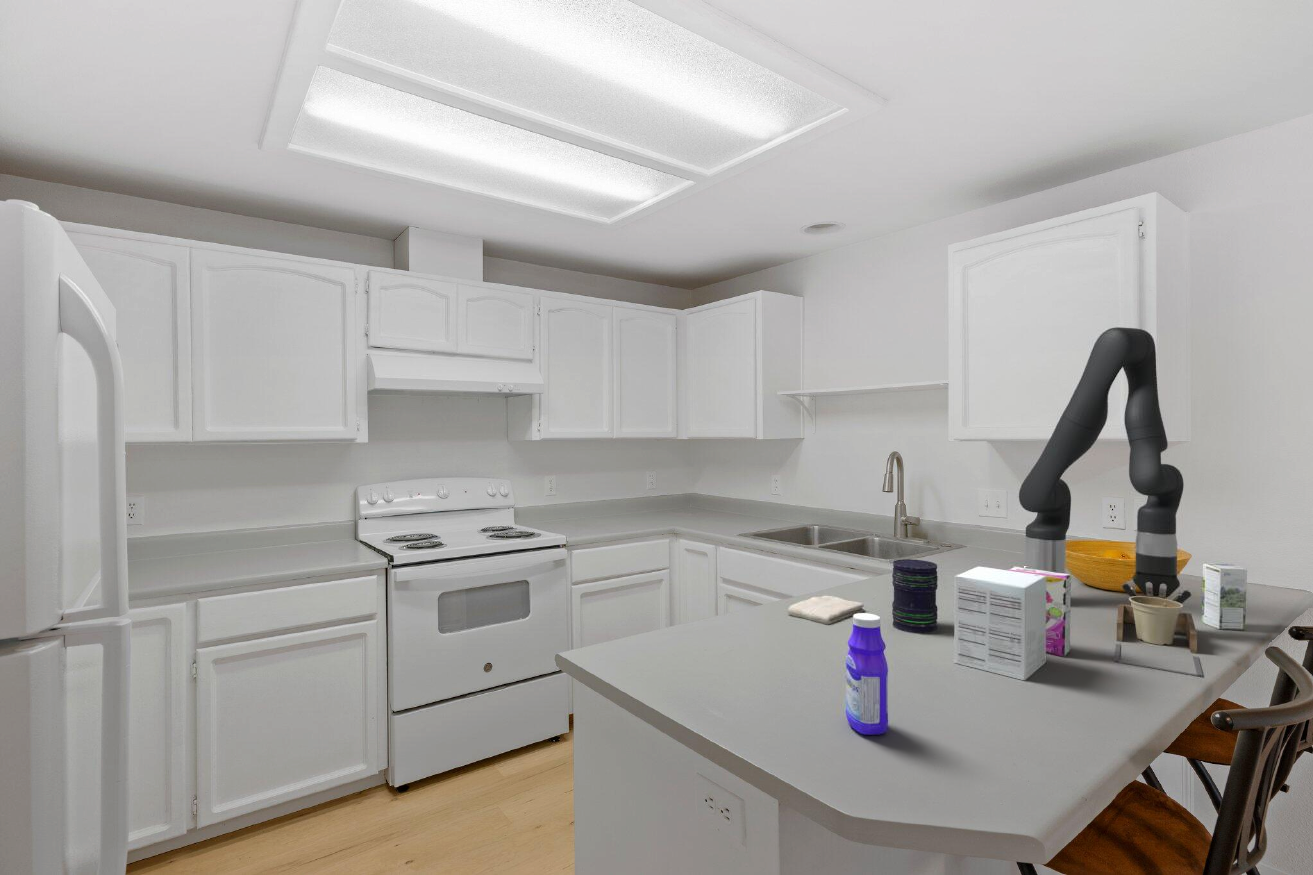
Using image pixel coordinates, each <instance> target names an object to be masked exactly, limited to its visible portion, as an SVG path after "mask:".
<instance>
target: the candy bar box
mask: <svg viewBox="0 0 1313 875" xmlns="http://www.w3.org/2000/svg"><path fill="white" fill-rule="evenodd" d="M1006 570H1007V571H1015V572H1022V573H1029V574H1036V575H1042V576H1046V654H1048V655H1054V656H1058V657H1059V656H1060V657H1064V658H1065V657H1066V655H1067V654H1068V653H1069V652H1071V651H1070V650H1071V649H1070V648H1071V606H1072V605H1071V603H1072V602H1071V598H1072V594H1071V593H1072V575H1071V574H1068V573H1066V574H1063V573H1056V572H1049V571H1042V570H1035V569H1028V568H1024V567H1021V566H1012V567H1010V568H1008V569H1006Z"/></svg>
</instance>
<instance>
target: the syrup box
mask: <svg viewBox="0 0 1313 875" xmlns="http://www.w3.org/2000/svg"><path fill="white" fill-rule="evenodd" d="M1247 580H1248V569H1246V568H1244V567H1242V566H1240V565H1237V564H1234V563H1233V564H1232V563H1214V562H1213V563H1211V562H1209V563H1208V562H1206V563H1205V562H1204V563H1202V585H1201V590H1202V591H1201V618H1200V620H1201V621H1200V622H1201V623H1203V624H1206V625H1208V626H1210V627H1212V628H1215V629H1218V630H1231V631H1235V630H1236V631H1245V630H1246V615H1247V613H1246V612H1247V589H1248V588H1247V585H1248V583H1247Z"/></svg>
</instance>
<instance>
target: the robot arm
mask: <svg viewBox="0 0 1313 875" xmlns="http://www.w3.org/2000/svg"><path fill="white" fill-rule="evenodd" d="M1091 349H1092V350H1091V352H1090V354H1089V358H1088V360H1087V362H1086V364H1085V366H1084V369H1083V372H1082V375H1081V377H1080V379H1079V382H1078V383H1077V385H1076V388H1075V390H1074V391H1073V394H1072V395H1071V398H1070V400H1069V402H1068V404H1067V405H1066V407H1065V409H1064V410H1063V412H1062V414H1061V416H1060V418H1059V420H1058V422H1057V423H1056V425H1055V429H1054V430H1053V432H1052V434H1051V436H1050V438H1049V440H1048V441H1047V442H1046V445H1045V447H1044V449H1043V451H1042V453H1041V455H1040V456H1039V458H1038V459H1037V461H1036V463H1035V464H1034V465H1033V468H1031V471H1030V472H1029V473H1028V475H1027V476H1026V477H1025V479H1024V480H1023V482H1022V483H1021V486H1020V488H1019V492H1018V500H1019V504H1020V505H1021V507H1022V508H1023V509H1024V510H1025V511H1027V512H1031V513H1037V514H1036V517H1035V518H1034V520H1033V521H1031V522H1030V523H1028V524H1027V525H1026V527H1025V548H1024V549H1025V552H1024V554H1025V555H1024V556H1025V563H1024V566H1023V568H1028V569H1035V570H1042V571H1049V572H1056V573H1063V574H1067V573H1066V568H1067V566H1066V565H1067V564H1066V563H1067V561H1066V558H1067V557H1066V556H1067V555H1066V554H1067V553H1066V552H1067V548H1066V547H1067V546H1066V545H1067V543H1066V542H1067V538H1066V537H1067V532H1068V530H1069V529H1070V523H1071V507H1072V494H1071V489H1070V488H1069V485H1068V484H1067V483H1066V482H1065V481H1064V480H1063V479H1062V476H1063V475H1064V473H1065V472H1066V471H1067V470H1068V469H1069V467H1070V468H1071V466H1072V465H1073V464H1074V463H1075V462H1076V461H1078V460H1079V459H1080V458H1081V457H1083V455H1085V454H1086V453H1087V452H1088V451H1089V450H1090V449H1091V448H1092V447H1093V446H1094V444H1095V442H1096V441H1097V440H1098V438H1099V436H1100V435H1101V432H1102V431H1103V429H1104V427H1105V425H1106V423H1107V420H1108V413H1109V411H1108V410H1109V403H1108V402H1109V393H1110V390H1111V387H1112V385H1113V383H1114V381H1115V380H1116V377H1117V376H1118V374H1119V373H1120V372H1121V370H1123V371H1124V374H1125V376H1126V380H1127V381H1126V382H1127V386H1128V394H1127V400H1126V404H1125V408H1124V415H1123V416H1124V418H1123V419H1124V420H1123V422H1124V428H1125V432H1126V436H1127V440H1128V444H1129V449H1130V450H1129V451H1130V452H1129V462H1128V463H1129V464H1128V475H1129V476H1128V477H1129V481H1130V484H1131V485H1132V487H1133V489H1134V490H1135V491H1136V492H1137V493H1139V494H1141V495H1143V496H1147V499H1146V503H1145V504H1144V505H1142V506H1140V507H1139V508H1138V509H1137V517H1136V519H1137V521H1136V522H1137V523H1136V526H1137V527H1136V537H1135V549H1134V550H1135V560H1134V561H1135V572H1134V574H1133V576H1132V579H1131V580H1129V581H1127V582H1123V583H1122V586H1121V587H1122V589H1123V590H1124V591H1125V593H1126V594H1127V595H1128V596H1129V598H1130V597H1134V596H1139V594H1138V593H1137V592H1136V591H1135V590H1136V586H1137V588H1138V589H1139V590H1140V592H1141V593H1142V594H1143V595H1144V596H1146V597H1156V598H1162V599H1166V598H1168V597H1170V596H1171V595H1172V594H1173V593H1174V592H1175V591H1176V590H1177V591H1176V595H1177V596H1176V597H1174V598H1173V599H1172V601H1175V602H1178V603H1181V604H1182V605H1183V603H1185V602H1186V601H1187V600H1188V599H1189V598H1191V596H1192V593H1191V590H1189V589H1186V588H1185V587H1183V585H1181V582H1180V580H1179V578H1178V552H1179V550H1178V540H1177V512H1178V510H1179V507H1180V504H1181V499H1182V496H1183V493H1184V492H1183V491H1184V486H1185V485H1184V478H1183V475H1182V472H1181V470H1180V469H1178V468H1177V467H1176V466H1174V465H1172V464H1169V463H1168V464H1167V463H1162V453H1163V452H1165V451H1166V450H1167V449H1168V447H1169V443H1168V438H1167V434H1166V430H1165V425H1164V422H1163V418H1162V413H1161V408H1160V402H1159V391H1158V390H1159V389H1158V376H1157V374H1158V373H1157V352H1156V350H1157V349H1156V342H1155V340H1154V337H1153V336H1152V335H1151V333H1149V332H1148V331H1147V330H1144V329H1142V328H1134V327H1112V328H1108V329H1106V330H1105V331H1103V332H1102V333H1101V334H1100V335H1099V336H1098V337H1097V339H1096V341H1095V343H1094V345H1093V347H1092V348H1091ZM1135 585H1136V586H1135Z"/></svg>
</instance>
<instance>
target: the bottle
mask: <svg viewBox="0 0 1313 875" xmlns="http://www.w3.org/2000/svg"><path fill="white" fill-rule="evenodd" d="M847 645H848V647H849V650H848V651H847V654H846V657H845V665H846V667H845V669H846V670H845V672H846V674H845V678H846V679H845V680H846V681H845V716H846V719H847V722H848V724H849V726H850V727H851V728H852V729H853V730H854V731H856V732H857V733H859V734H861V735H869V736H870V735H871V736H873V735H874V736H875V735H876V736H877V735H882V734H884V733H886V732H887V730H888V727H889V697H888V696H889V690H888V689H889V687H888V685H889V684H888V682H889V679H888V678H889V677H888V675H889V668H888V667H889V666H888V661H887V659H886V655H885V653H884V652H885V650H886V646H887V645H886V642H885V641H884V639H883V638H882V632H881V617H880V616H878V615H876V614H873V613H867V612H860V613H858V614H855V615H852V631H851V634H850V637H849V639H848V640H847Z"/></svg>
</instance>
